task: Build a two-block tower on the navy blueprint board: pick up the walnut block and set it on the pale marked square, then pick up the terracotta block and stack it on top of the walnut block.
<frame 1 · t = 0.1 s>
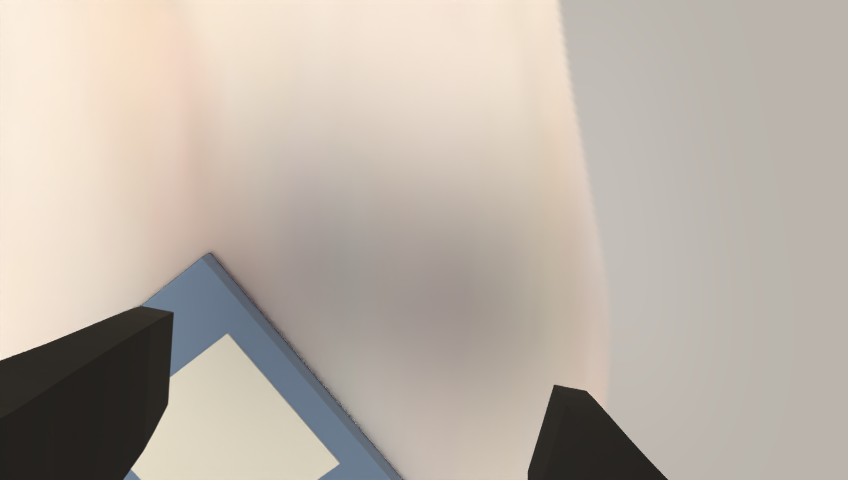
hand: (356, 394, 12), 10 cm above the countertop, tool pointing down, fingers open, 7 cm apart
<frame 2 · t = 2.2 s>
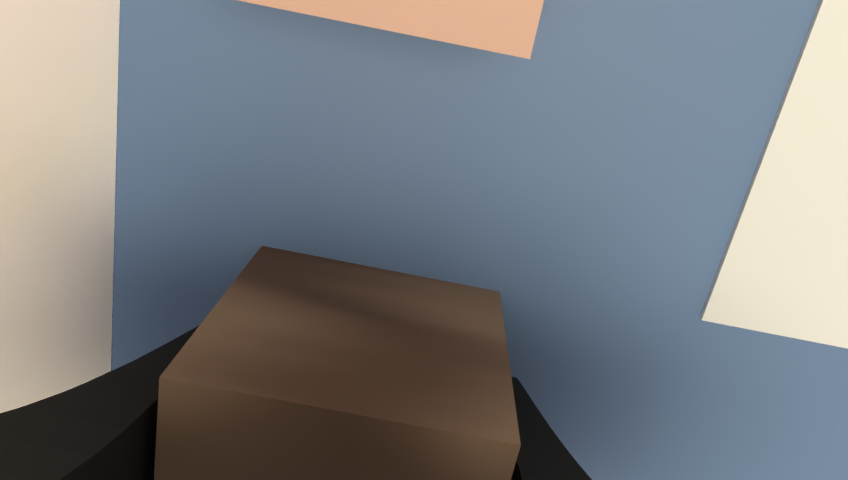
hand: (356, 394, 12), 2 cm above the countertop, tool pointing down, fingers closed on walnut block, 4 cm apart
walnut block: (362, 371, 13), point 1 cm above the countertop, touching blueprint board, gripper
blueprint board: (608, 208, 13), on the countertop
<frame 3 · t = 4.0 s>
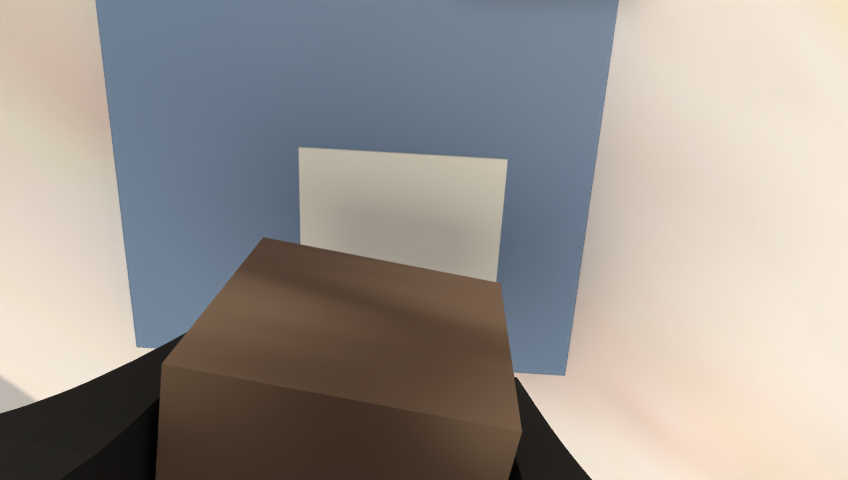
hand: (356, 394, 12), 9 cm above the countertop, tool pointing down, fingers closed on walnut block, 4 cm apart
walnut block: (363, 363, 13), point 8 cm above the countertop, touching gripper
blueprint board: (355, 75, 19), on the countertop
when the fingers open (3 cm above the countertop, at t = 5.7 s): walnut block stays where it is, resting on blueprint board.
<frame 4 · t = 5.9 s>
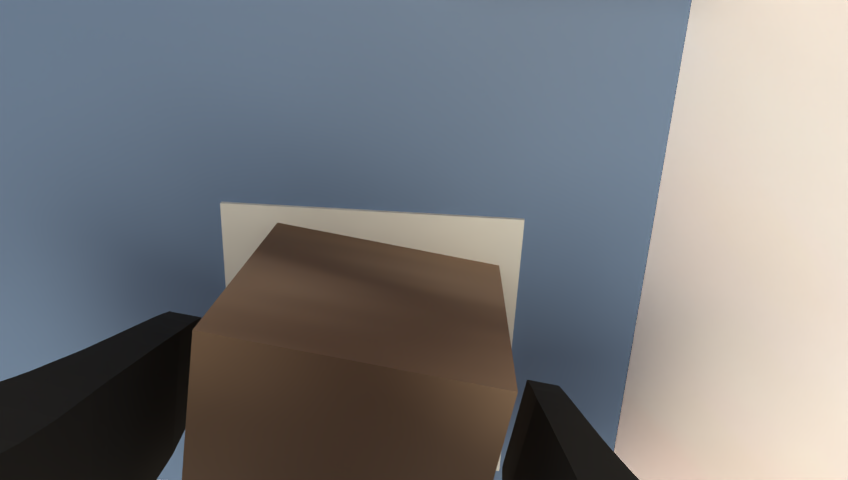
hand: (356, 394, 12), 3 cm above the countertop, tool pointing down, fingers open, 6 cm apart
walnut block: (370, 341, 14), point 1 cm above the countertop, touching blueprint board
blueprint board: (303, 97, 13), on the countertop
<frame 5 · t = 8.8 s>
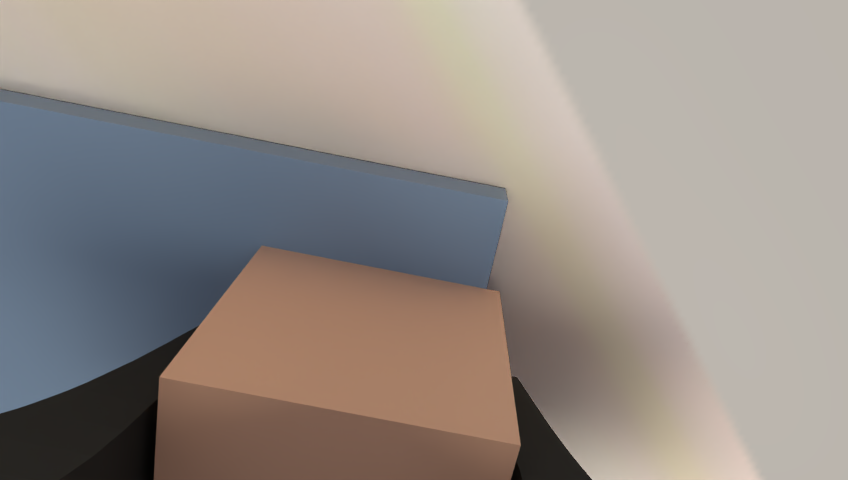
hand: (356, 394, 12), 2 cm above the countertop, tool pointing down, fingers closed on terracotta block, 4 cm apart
terracotta block: (362, 371, 13), point 1 cm above the countertop, touching blueprint board, gripper
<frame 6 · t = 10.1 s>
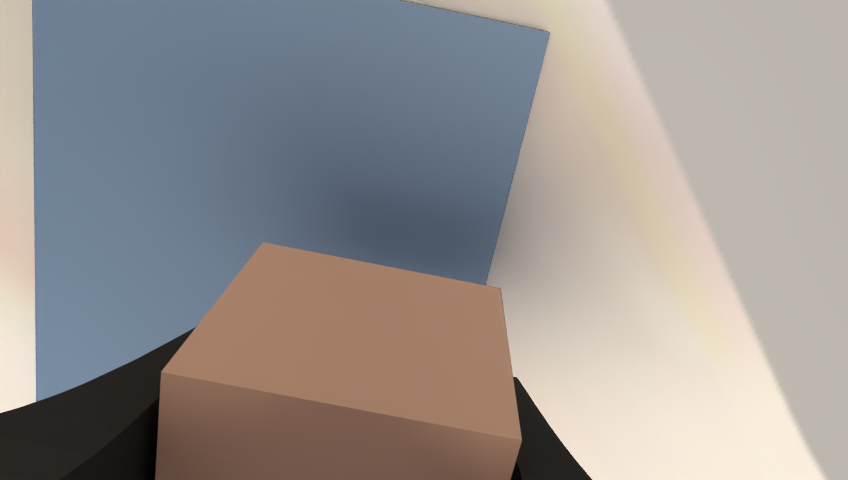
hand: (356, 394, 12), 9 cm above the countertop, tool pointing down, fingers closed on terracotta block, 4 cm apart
terracotta block: (363, 368, 13), point 8 cm above the countertop, touching gripper
blueprint board: (263, 270, 22), on the countertop
when the fingers open (7 cm above the countertop, at t = 11.4 s): terracotta block stays where it is, resting on walnut block.
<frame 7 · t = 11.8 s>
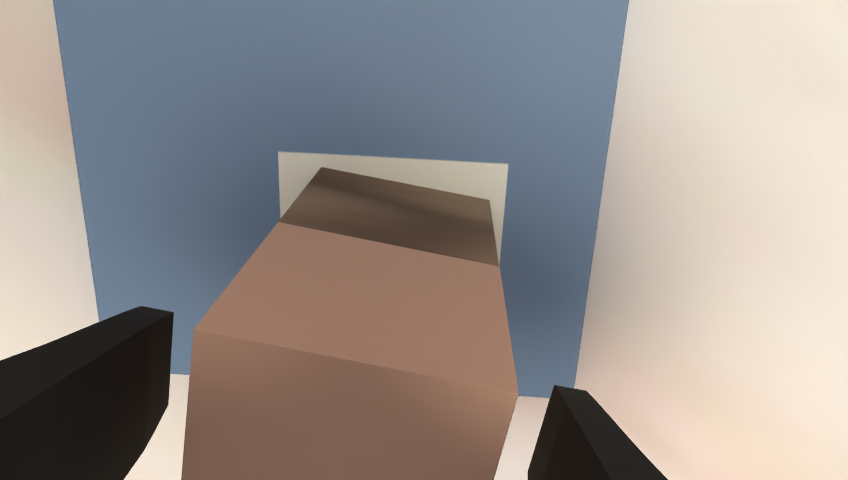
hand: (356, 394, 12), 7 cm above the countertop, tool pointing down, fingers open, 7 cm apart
terracotta block: (370, 341, 14), point 5 cm above the countertop, touching walnut block
walnut block: (391, 261, 18), point 1 cm above the countertop, touching blueprint board, terracotta block
blueprint board: (340, 72, 17), on the countertop
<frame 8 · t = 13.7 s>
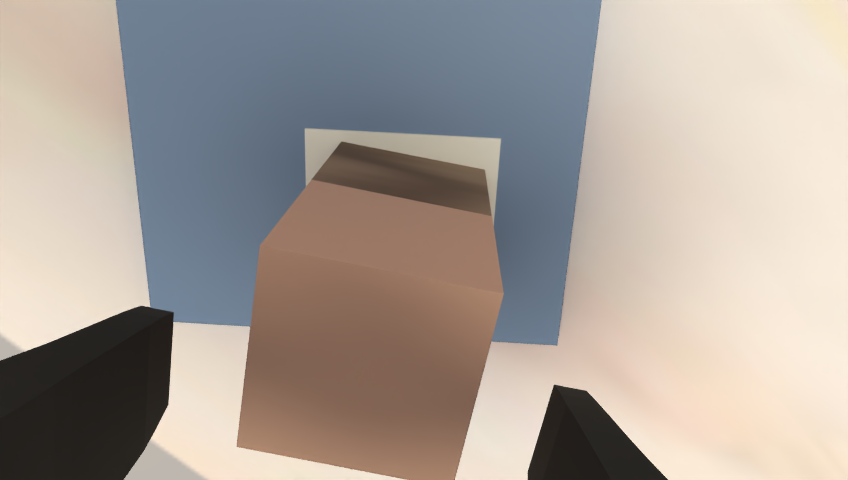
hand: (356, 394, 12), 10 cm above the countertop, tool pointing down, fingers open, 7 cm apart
terracotta block: (386, 280, 17), point 5 cm above the countertop, touching walnut block
walnut block: (400, 223, 21), point 1 cm above the countertop, touching blueprint board, terracotta block
blueprint board: (358, 60, 20), on the countertop
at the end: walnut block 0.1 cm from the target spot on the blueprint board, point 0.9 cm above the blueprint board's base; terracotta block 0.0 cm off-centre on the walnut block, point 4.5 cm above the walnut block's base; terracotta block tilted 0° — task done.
